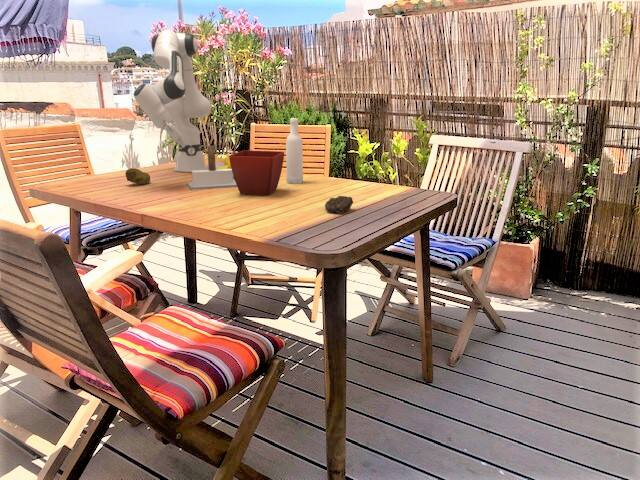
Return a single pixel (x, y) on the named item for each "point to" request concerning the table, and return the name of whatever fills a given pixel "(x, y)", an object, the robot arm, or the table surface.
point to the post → (211, 158)
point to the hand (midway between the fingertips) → (182, 144)
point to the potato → (137, 176)
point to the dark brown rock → (338, 204)
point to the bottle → (294, 154)
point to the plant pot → (257, 171)
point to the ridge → (212, 179)
